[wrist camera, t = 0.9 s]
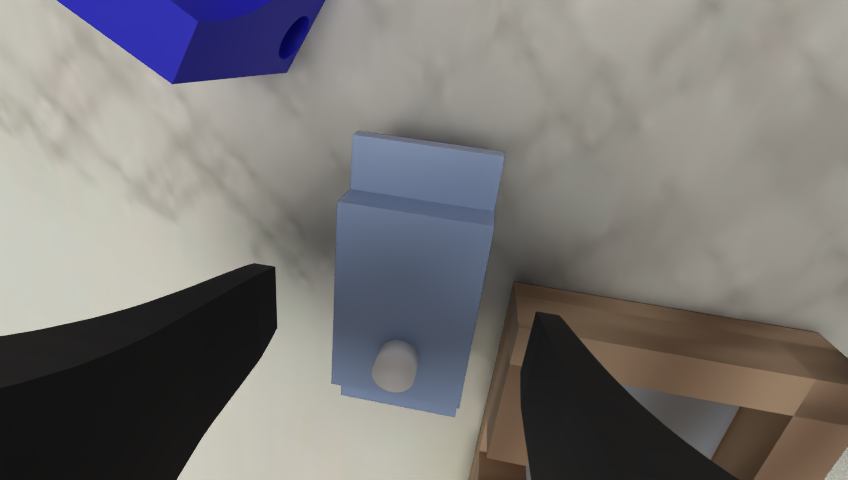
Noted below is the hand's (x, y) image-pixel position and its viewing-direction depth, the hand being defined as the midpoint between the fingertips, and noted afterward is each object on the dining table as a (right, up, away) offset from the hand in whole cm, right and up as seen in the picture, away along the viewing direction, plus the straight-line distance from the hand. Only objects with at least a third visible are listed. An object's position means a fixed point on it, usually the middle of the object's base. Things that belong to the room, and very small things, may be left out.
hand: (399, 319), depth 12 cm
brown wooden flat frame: (+9, -7, +7) cm, 13 cm away
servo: (+1, +2, +5) cm, 5 cm away
